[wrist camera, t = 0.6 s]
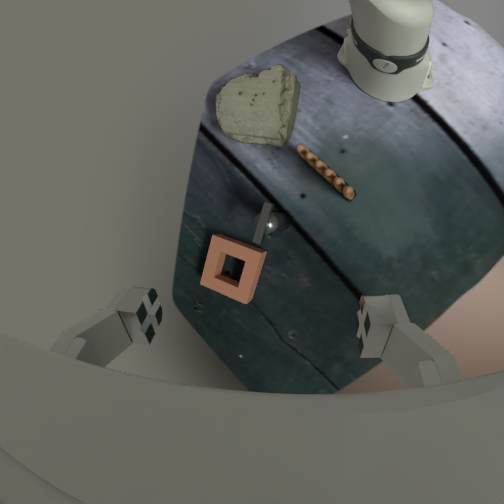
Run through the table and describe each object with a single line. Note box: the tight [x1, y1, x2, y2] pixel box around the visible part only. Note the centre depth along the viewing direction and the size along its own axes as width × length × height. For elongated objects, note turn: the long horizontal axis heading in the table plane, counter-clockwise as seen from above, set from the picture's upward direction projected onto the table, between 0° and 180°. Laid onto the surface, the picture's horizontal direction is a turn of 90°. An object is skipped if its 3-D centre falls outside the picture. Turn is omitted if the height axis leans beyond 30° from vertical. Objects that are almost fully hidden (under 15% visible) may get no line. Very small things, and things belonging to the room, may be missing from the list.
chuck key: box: [253, 202, 291, 244], centre depth 46 cm, size 6×3×11 cm, turn 163°
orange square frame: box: [200, 234, 267, 304], centre depth 54 cm, size 10×10×3 cm
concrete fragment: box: [215, 64, 300, 147], centre depth 46 cm, size 15×10×15 cm
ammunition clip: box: [296, 144, 356, 202], centre depth 42 cm, size 11×2×12 cm, turn 48°
